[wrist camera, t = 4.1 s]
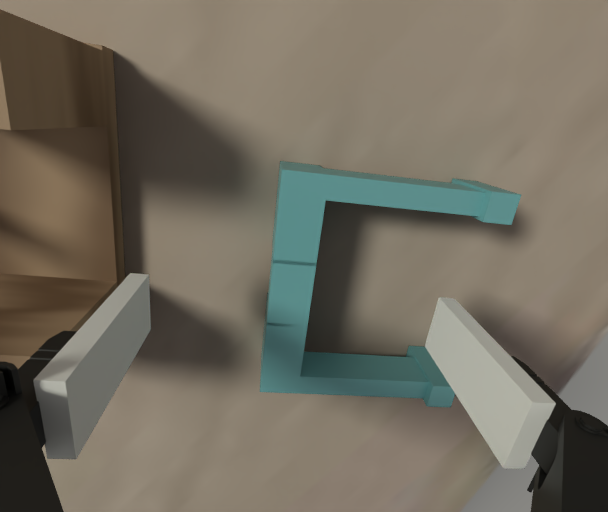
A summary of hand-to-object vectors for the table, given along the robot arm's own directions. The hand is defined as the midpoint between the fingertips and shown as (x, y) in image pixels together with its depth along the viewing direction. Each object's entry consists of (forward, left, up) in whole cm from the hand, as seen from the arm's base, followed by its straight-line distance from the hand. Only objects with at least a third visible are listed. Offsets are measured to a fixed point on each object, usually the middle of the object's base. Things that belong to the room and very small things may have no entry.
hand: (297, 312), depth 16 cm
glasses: (0, -5, -6) cm, 7 cm away
